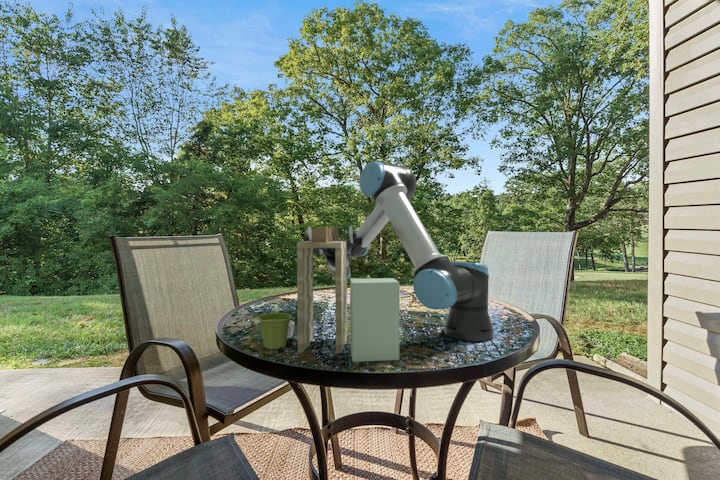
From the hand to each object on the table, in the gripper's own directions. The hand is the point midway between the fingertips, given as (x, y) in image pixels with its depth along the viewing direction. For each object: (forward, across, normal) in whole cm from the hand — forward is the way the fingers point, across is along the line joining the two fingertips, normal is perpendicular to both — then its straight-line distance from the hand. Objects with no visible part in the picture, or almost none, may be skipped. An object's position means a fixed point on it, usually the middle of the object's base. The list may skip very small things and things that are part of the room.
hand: (329, 229), depth 114 cm
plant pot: (-5, +14, -36) cm, 39 cm away
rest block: (0, -15, -39) cm, 42 cm away
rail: (+4, 0, -6) cm, 7 cm away
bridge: (-7, 0, -35) cm, 35 cm away
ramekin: (-13, +15, -31) cm, 37 cm away
